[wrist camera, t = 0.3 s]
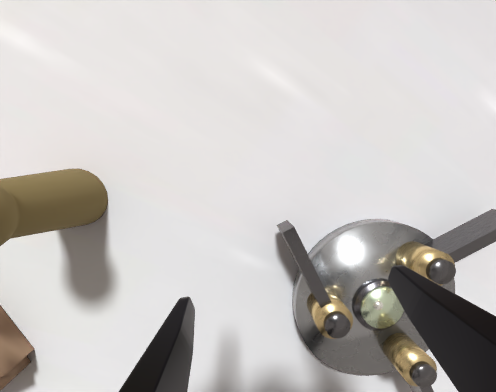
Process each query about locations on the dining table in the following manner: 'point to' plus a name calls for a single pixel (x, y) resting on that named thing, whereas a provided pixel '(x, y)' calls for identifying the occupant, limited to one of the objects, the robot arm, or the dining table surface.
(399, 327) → the levelling base
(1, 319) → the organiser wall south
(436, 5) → the dining table surface
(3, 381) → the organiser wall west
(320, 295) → the knob left
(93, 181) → the cork
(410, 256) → the knob right
